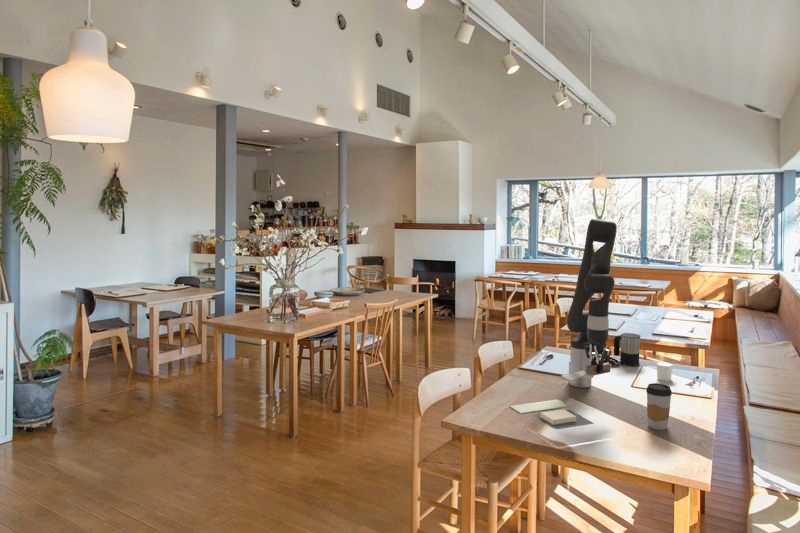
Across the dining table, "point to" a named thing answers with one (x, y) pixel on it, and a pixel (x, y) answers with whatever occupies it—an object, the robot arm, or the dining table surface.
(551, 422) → the tile
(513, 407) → the board
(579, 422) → the mat
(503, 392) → the dining table surface
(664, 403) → the coffee cup
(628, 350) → the milk frother
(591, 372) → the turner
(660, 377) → the white cup
